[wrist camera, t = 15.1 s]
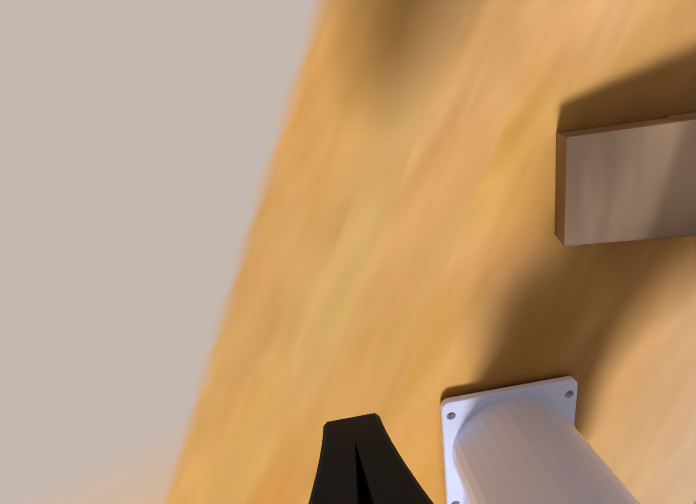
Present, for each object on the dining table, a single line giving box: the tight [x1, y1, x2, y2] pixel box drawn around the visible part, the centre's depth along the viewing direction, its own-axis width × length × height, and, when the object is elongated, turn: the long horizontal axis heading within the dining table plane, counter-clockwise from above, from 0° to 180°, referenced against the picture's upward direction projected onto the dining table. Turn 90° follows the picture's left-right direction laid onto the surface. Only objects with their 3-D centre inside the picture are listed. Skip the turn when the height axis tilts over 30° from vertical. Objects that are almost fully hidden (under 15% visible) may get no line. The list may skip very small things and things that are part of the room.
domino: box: [555, 113, 696, 246], centre depth 18 cm, size 2×5×8 cm
